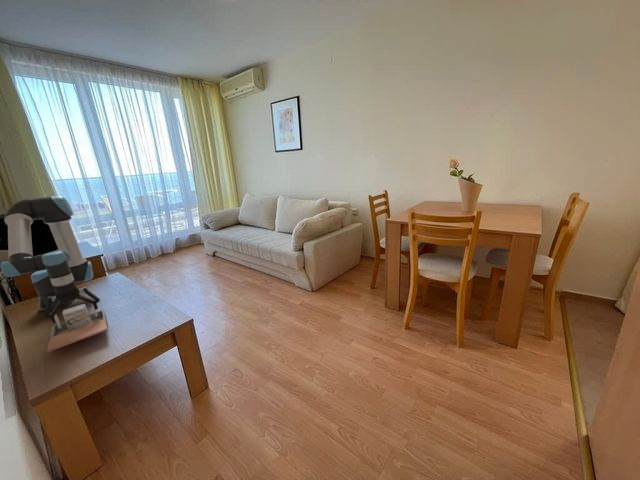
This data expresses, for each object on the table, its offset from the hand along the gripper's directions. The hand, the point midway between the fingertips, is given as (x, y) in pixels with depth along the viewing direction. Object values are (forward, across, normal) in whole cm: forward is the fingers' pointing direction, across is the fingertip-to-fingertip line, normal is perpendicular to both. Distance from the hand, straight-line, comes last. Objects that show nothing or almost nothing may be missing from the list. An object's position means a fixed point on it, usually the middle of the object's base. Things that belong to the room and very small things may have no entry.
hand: (78, 321), depth 128 cm
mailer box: (+5, 0, 0) cm, 5 cm away
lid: (0, 0, -13) cm, 13 cm away
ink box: (+5, 0, 0) cm, 5 cm away
